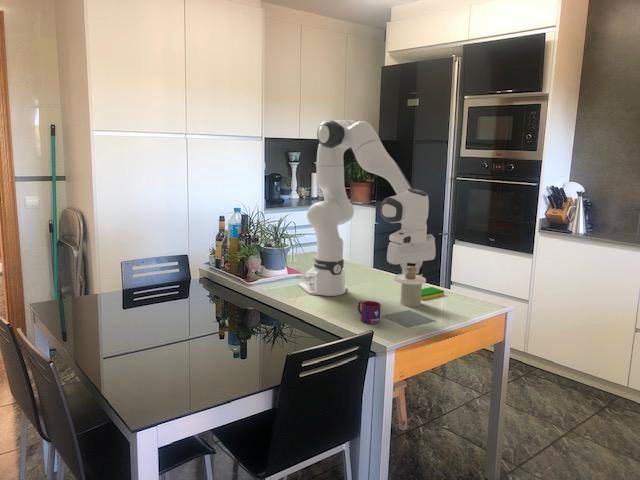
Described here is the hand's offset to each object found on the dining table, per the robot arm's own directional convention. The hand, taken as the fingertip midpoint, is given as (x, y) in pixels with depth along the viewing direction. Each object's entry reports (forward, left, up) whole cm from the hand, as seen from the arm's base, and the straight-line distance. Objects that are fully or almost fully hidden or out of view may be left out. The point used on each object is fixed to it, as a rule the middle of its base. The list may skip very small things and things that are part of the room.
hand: (410, 273), depth 184 cm
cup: (-7, -13, -18) cm, 23 cm away
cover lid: (0, 0, -2) cm, 2 cm away
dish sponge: (-20, +29, -18) cm, 40 cm away
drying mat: (-1, +1, -17) cm, 17 cm away
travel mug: (-14, +14, -18) cm, 26 cm away
